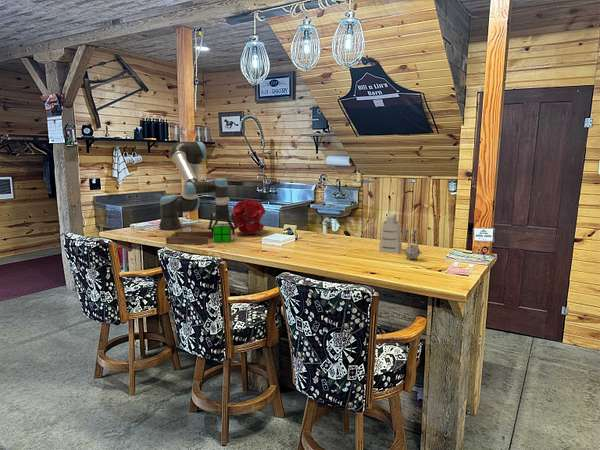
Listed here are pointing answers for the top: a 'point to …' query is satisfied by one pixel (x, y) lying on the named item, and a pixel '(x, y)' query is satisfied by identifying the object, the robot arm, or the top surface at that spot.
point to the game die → (412, 251)
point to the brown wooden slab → (189, 238)
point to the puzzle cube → (222, 232)
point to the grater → (390, 235)
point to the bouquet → (248, 216)
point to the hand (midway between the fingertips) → (223, 240)
